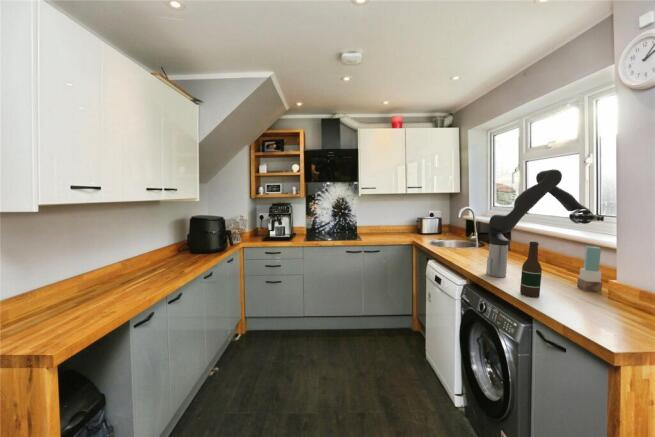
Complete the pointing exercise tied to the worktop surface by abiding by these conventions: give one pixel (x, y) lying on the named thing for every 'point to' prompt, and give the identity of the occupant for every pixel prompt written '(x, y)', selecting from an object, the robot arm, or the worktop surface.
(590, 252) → the teal block
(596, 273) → the cream block
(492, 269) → the robot arm
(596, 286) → the walnut block
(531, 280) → the beer bottle
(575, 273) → the worktop surface
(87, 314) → the worktop surface
